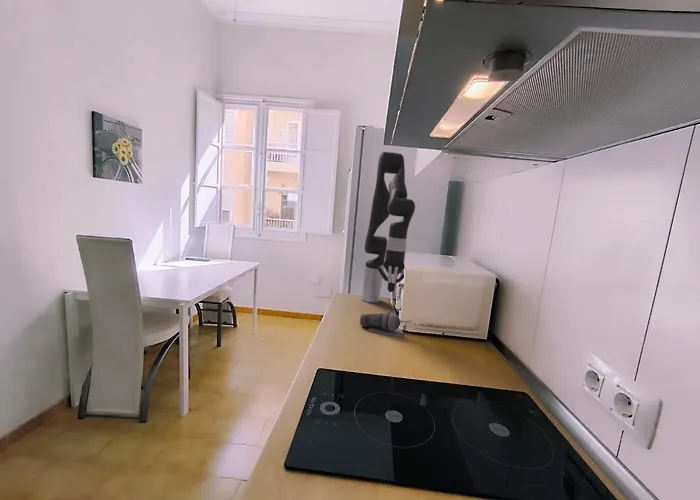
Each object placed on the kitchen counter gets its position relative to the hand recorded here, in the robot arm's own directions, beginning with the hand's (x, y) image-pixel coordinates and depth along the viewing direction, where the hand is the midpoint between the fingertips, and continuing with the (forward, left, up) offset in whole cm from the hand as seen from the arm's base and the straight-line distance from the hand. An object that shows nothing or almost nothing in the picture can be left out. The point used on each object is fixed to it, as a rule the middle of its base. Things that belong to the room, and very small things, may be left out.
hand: (390, 291), depth 147 cm
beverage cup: (+3, -10, -13) cm, 16 cm away
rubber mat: (0, 0, -15) cm, 15 cm away
